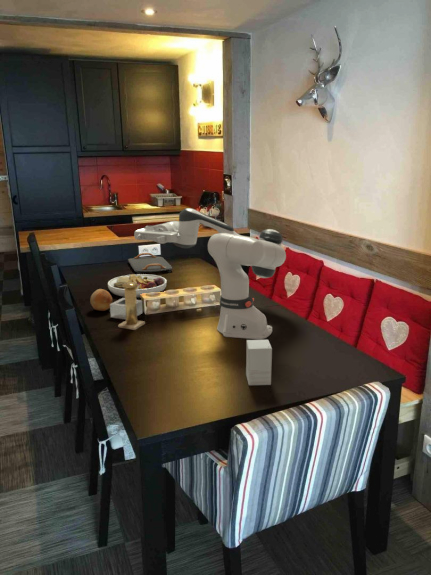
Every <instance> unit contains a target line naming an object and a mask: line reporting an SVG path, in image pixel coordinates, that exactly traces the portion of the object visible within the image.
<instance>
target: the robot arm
mask: <svg viewBox="0 0 431 575" xmlns="http://www.w3.org/2000/svg"><path fill="white" fill-rule="evenodd" d="M200 225H203V226H207V227H208V228H212V229H214V230H216V231H217V232H218V233H214V234H212V235H211V236H210V238H209V240H208V242H207V251H208V253H209V255H210V256H211V257H212V258H213V260H214V262H215V264H216V266H217V269H218V273H219V276H220V294H221V295H220V297H219V308H220V314H219V319H218V324H217V327H216V329H217V331H218V332H219V333H220V334H222V335H223V337H224V338H225V337H226V338H238V339H247V340H265V339H267V338H268V337H269V336H270V335H271V334H272V333H273V326H272V325H268V321H267V317H266V315H265V314H264V313H263V312H262V311H260V310H259V309H258V308H256V306H254V301H255V298H254V297H251V296H250V295H249V289H250V288H249V287H250V285H249V284H250V279H249V276H248V274H247V272H245V271H244V269H243V267H242V266H247V267H249V266H250V267H251V270H252V273H253V274H254V275H256V276H257V277H259V278H261V279H268V278H272V277H273V276H274V274H276V268H277V267H280V266H282V265H283V264H284V263H285V261H286V259H287V253H286V251H285V249H284V247H283V246H282V243H283V236H282V233H280V232H279V231H277V230H275V229H272V228H268V229H264V230H262V231H261V232H260V233H259V235H258V238H256V237H252V236H247V235H241V234H239V233H238V232H236V231H235V229H234V227H233V226H232V225H230V224H228V223H226V222H225V221H221V220H219V219H217V218H214V217H211V216H209V215H206V214H204V213H202V212H200V211H198V210H197V209H194V208H191V207H190V208H188V207H187V208H186V207H185V208H184V209H183V210H181V211H180V212H179V214H178V220H171V221H167V222H164V223H160V224H155V225H146V226H145V227H143V228H139V229H137V230H135V231H134V232H133V233H134V235H133V236H134V239H135V240H137V241H152V242H156V243H157V244H158V243H159V244H160V245H161V244H163V245H164V244H166V243H173V244H174V245H175V246H176V247H178V248H182V249H190V248H193V247H195V246H196V245H197V241H198V235H199V229H200Z"/></svg>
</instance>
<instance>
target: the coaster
mask: <svg viewBox="0 0 431 575" xmlns="http://www.w3.org/2000/svg"><path fill="white" fill-rule="evenodd" d="M145 324H146V321H145V320H144V321H143V320H138V319H137V324H135V325H127V324H126V320H125V321H122V322H121V323H119V324H117V327H118V328H121V329H126V330H133V331H136V330H137V329H139V328H141V327H142V326H144V325H145Z"/></svg>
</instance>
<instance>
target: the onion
mask: <svg viewBox="0 0 431 575" xmlns="http://www.w3.org/2000/svg"><path fill="white" fill-rule="evenodd" d="M89 301H90V305H91V307H92V308H93V309H94V310H96V311H100V312H105V311H107V310H108V309H110V304H111V303H113V297H112V295H111V292H109V291H107V290H106V289H105V288H104V289H102V288H99V289H96V290H95V291H94V292H93V293H92V294H91V296H90V300H89Z"/></svg>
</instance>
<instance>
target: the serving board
mask: <svg viewBox="0 0 431 575" xmlns="http://www.w3.org/2000/svg"><path fill="white" fill-rule="evenodd" d="M127 261H128V263H129V264H130V267H131V268H132V269H133V271H134V272H135V273H136V274H142V273H154V272H156V273H157V272H163V271H167V273H171V272H172V271H171V270H173V266H172V265H171V264H170V263H169V262H168V261H167V260H166V259H164V257H163V256H156V255H154V254H152V253H151V252H142V253H139V254H138V255H137V256H134V257H132V258H128V259H127Z"/></svg>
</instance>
